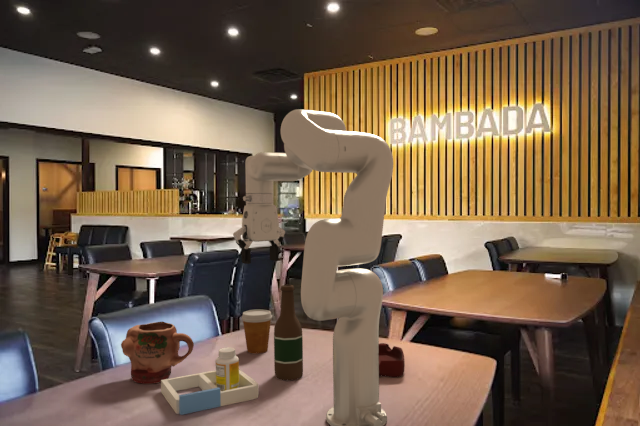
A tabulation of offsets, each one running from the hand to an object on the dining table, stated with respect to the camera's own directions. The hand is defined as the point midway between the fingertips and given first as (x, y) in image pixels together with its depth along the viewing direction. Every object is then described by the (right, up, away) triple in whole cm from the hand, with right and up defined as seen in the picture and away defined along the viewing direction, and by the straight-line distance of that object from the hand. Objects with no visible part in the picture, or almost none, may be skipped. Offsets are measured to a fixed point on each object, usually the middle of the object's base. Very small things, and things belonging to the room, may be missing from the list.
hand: (260, 261), depth 140 cm
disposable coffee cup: (-3, -30, +16) cm, 34 cm away
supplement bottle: (-6, -30, -18) cm, 35 cm away
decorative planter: (-26, -30, -7) cm, 41 cm away
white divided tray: (-10, -30, -20) cm, 37 cm away
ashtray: (+33, -30, -4) cm, 44 cm away
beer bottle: (+8, -30, -7) cm, 32 cm away
